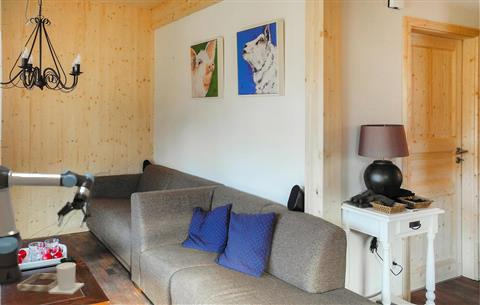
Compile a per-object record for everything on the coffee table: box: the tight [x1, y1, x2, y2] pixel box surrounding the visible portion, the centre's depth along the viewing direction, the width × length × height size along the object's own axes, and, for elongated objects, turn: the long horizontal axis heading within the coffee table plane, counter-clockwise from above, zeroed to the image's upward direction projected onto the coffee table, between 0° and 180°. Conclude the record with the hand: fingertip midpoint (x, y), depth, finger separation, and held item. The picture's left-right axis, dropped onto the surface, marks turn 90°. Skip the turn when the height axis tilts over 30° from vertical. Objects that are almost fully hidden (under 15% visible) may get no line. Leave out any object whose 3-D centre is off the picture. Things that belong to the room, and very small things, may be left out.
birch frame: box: [16, 272, 58, 293], centre depth 229 cm, size 18×18×3 cm
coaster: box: [48, 282, 85, 296], centre depth 223 cm, size 13×13×1 cm
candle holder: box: [55, 263, 77, 290], centre depth 223 cm, size 10×10×12 cm
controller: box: [59, 256, 77, 265], centre depth 248 cm, size 4×12×10 cm, turn 57°
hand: (69, 226), depth 240 cm, fingers open, 13 cm apart
